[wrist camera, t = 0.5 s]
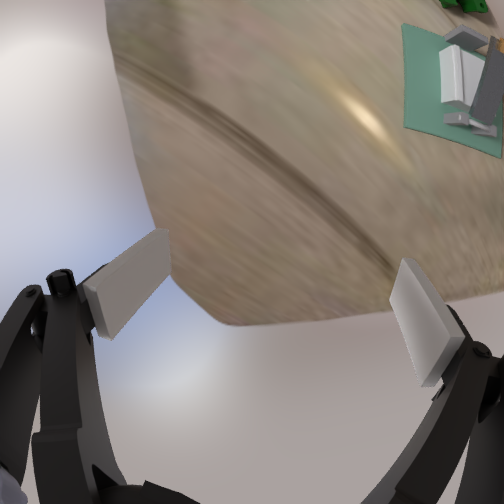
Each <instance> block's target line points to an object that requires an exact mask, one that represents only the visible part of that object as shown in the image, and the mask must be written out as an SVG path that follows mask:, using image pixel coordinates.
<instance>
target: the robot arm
mask: <svg viewBox="0 0 504 504" xmlns="http://www.w3.org/2000/svg"><path fill="white" fill-rule="evenodd" d="M171 272H172V269H171V258H170V245H169V231H168V229H162V228H156V229H155V230H153V231H152V232H151V233H149V234H148V235H147V236H145V237H144V238H142V239H141V240H139V241H138V242H137V243H135V244H134V245H133V246H131V247H130V248H128V249H127V250H126V251H124V252H123V253H122V254H120V255H119V256H118V257H116V258H115V259H114V260H112V261H111V262H110V263H107V264H105V265H103V266H101V267H100V268H99V269H97V270H96V272H93V273H92V274H91V276H88V277H87V278H86V279H85V280H83V281H82V282H81V283H80V284H78V285H77V286H76V284H75V281H74V276H73V272H72V271H71V270H70V269H60V270H56V271H54V272H52V273H51V274H49V275H48V276H47V278H46V280H47V284H48V287H49V290H50V293H51V295H44V294H43V291H42V288H41V286H40V285H29V286H27V287H26V288H24V289H23V290H22V291H21V292H20V293H19V295H18V296H17V298H16V299H15V301H14V302H13V304H12V306H11V307H10V308H9V310H8V312H7V313H6V315H5V316H4V318H3V320H2V322H1V323H0V504H27V502H28V500H27V496H26V494H25V493H24V492H23V491H21V488H20V487H21V484H22V482H23V478H24V474H25V469H26V463H27V457H28V449H29V443H30V437H31V431H32V426H33V421H34V416H35V412H36V407H37V403H38V399H39V395H40V424H41V428H40V432H37V433H33V435H32V441H31V446H32V457H33V466H34V474H35V480H36V486H37V492H38V497H39V502H40V504H200V503H198V502H196V501H194V500H193V499H190V498H189V497H187V496H185V495H183V494H182V493H179V492H175V491H172V490H170V489H167V488H164V487H161V486H158V485H156V484H153V483H151V482H148V481H146V480H145V482H144V484H143V486H141V485H127V483H126V480H125V479H124V476H123V475H122V473H121V471H120V470H119V468H118V466H117V463H116V461H115V457H114V454H113V450H112V447H111V443H110V439H109V435H108V432H107V427H106V423H105V418H104V413H103V409H102V403H101V398H100V392H99V386H98V379H97V372H96V364H95V355H94V345H93V336H92V334H91V330H92V329H93V328H94V327H96V330H97V332H98V335H99V336H100V337H102V338H105V339H108V340H110V341H112V339H113V338H114V337H115V336H116V335H117V334H118V333H119V331H120V330H121V329H122V328H123V327H124V325H125V324H126V323H127V322H128V321H129V320H130V318H131V317H132V316H133V315H134V314H135V313H136V311H137V310H138V309H139V308H140V307H141V306H142V305H143V303H144V302H145V301H146V300H147V299H148V297H150V295H151V294H152V293H153V292H154V291H155V290H156V289H157V288H158V286H159V285H160V284H161V283H162V282H163V281H164V280H165V279H166V277H167V276H168V275H169V274H170V273H171ZM389 301H390V303H391V306H392V308H393V311H394V313H395V316H396V318H397V321H398V323H399V326H400V329H401V331H402V334H403V337H404V340H405V342H406V345H407V348H408V351H409V354H410V357H411V360H412V363H413V366H414V369H415V372H416V375H417V379H418V382H419V385H420V387H434V386H435V385H436V383H437V382H438V381H439V379H440V378H441V377H442V380H443V383H444V384H443V385H442V387H441V388H440V389H439V391H438V392H437V393H436V395H435V396H434V397H433V399H432V401H433V403H432V405H431V407H430V409H429V410H428V412H427V414H426V416H425V417H424V419H423V421H422V423H421V424H420V426H419V427H418V429H417V431H416V432H415V434H414V435H413V437H412V439H411V440H410V442H409V443H408V445H407V446H406V448H405V449H404V450H403V452H402V453H401V455H400V456H399V457H398V459H397V460H396V462H395V463H394V464H393V466H392V467H391V468H390V470H389V471H388V472H387V474H386V475H385V476H384V477H383V478H382V480H381V481H380V482H379V484H377V486H376V487H375V488H374V489H373V490H372V491H371V493H370V494H369V495H368V496H367V497H366V498H365V499H364V501H363V502H362V503H361V504H436V503H437V502H438V500H439V498H440V497H441V495H442V493H443V492H444V490H445V488H446V486H447V484H448V482H449V480H450V479H451V477H452V475H453V473H454V471H455V469H456V467H457V465H458V463H459V460H460V458H461V456H462V454H463V452H464V449H465V447H466V444H467V442H468V439H469V437H470V440H469V446H468V452H467V457H466V462H465V467H464V471H463V475H462V480H461V483H460V487H459V491H458V494H457V497H456V501H455V504H504V355H503V356H502V358H497V357H493V356H492V353H491V351H490V349H489V348H488V347H487V346H486V345H484V344H483V343H481V342H478V341H473V339H472V338H471V336H470V334H469V332H468V331H467V329H466V327H465V326H464V325H463V323H462V321H461V320H460V319H459V316H458V315H457V313H456V312H455V310H453V309H452V308H451V307H450V306H449V305H446V304H445V303H444V301H443V300H442V298H441V296H440V295H439V293H438V292H437V291H436V289H435V288H434V286H433V285H432V283H431V282H430V280H429V279H428V278H427V276H426V275H425V273H424V272H423V271H422V269H421V268H420V266H419V265H418V264H417V262H416V261H415V260H414V259H410V258H403V257H402V261H401V264H400V268H399V271H398V274H397V278H396V281H395V284H394V287H393V290H392V293H391V296H390V299H389ZM31 327H32V329H33V334H31ZM499 400H500V401H499Z"/></svg>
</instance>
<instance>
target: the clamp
mask: <svg viewBox="0 0 504 504" xmlns="http://www.w3.org/2000/svg"><path fill="white" fill-rule="evenodd" d="M439 1H440V2H441V4H442V6H443V8H448V7H452V6H456V5H458V4H457V2H456V0H439ZM458 1H459V3H460V4H461V6H462V8H463V11H464V12H465V13H467V12H474V11H475V12H479V13H486V12H488V8H487V5H486V2H485V0H458Z"/></svg>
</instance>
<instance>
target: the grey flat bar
mask: <svg viewBox="0 0 504 504" xmlns="http://www.w3.org/2000/svg"><path fill="white" fill-rule="evenodd" d="M503 94H504V39H502V38H501V37H500V40H498V39H497V38H495V37H493V36H491V38H490V43H489V47H488V52H487V56H486V60H485V63H484V67H483V71H482V74H481V78H480V81H479V84H478V87H477V90H476V93H475V96H474V99H473V102H472V105H471V108H470V110H469V114H470V116H471V117H473V118H475V119H478V120H480V121H482V122H485V123H487V124H489V125H492V122H493V120H494V118H495V115H496V113H497V110H498V108H499V105H500V102H501V100H502V97H503Z"/></svg>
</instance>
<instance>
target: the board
mask: <svg viewBox="0 0 504 504" xmlns="http://www.w3.org/2000/svg"><path fill="white" fill-rule="evenodd" d="M401 27H402V37H403V50H404V74H405V102H404V128H408V129H412V130H416V131H420V132H424V133H427V134H431V135H434V136H438V137H441V138H444V139H447V140H451V141H454V142H457V143H460V144H463V145H465V146H468V147H471V148H474V149H476V150H479V151H482V152H484V153H487V154H489V155H492V156H494V157H496V158H500V159H501V150H502V131H503V104H502V100H501V102H500V105H499V108H498V110H497V113H496V115H495V118H494V120H493V122H492V125H489V124H487V123H485V122H482V121H480V120H478V119H475V118H473V117H471V116H470V114H469V110H470V108H471V105H472V102H473V99H474V96H475V93H476V90H477V87H478V84H479V81H480V78H481V74H482V71H483V67H484V63H485V60H486V57H485V56H483V55H481V54H479V53H477V52H476V51H474V50H475V49H478V48H480V47H482V46H485V45H487V44H489V43H488V38H487V37H485V36H484V35H482V34H480V33H478V32H476V31H474V30H472V29H471V28H469V27H467V26H464V25H460V26H459V27H457V28H455V29H454V30H452V31H451V32H449V33H448V34H446V35H445V36H443V37H442V36H440V35H437V34H435V33H432V32H429V31H426V30H424V29H421V28H418V27H415V26H412V25H408V24H405V23H403V24H402V25H401Z"/></svg>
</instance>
